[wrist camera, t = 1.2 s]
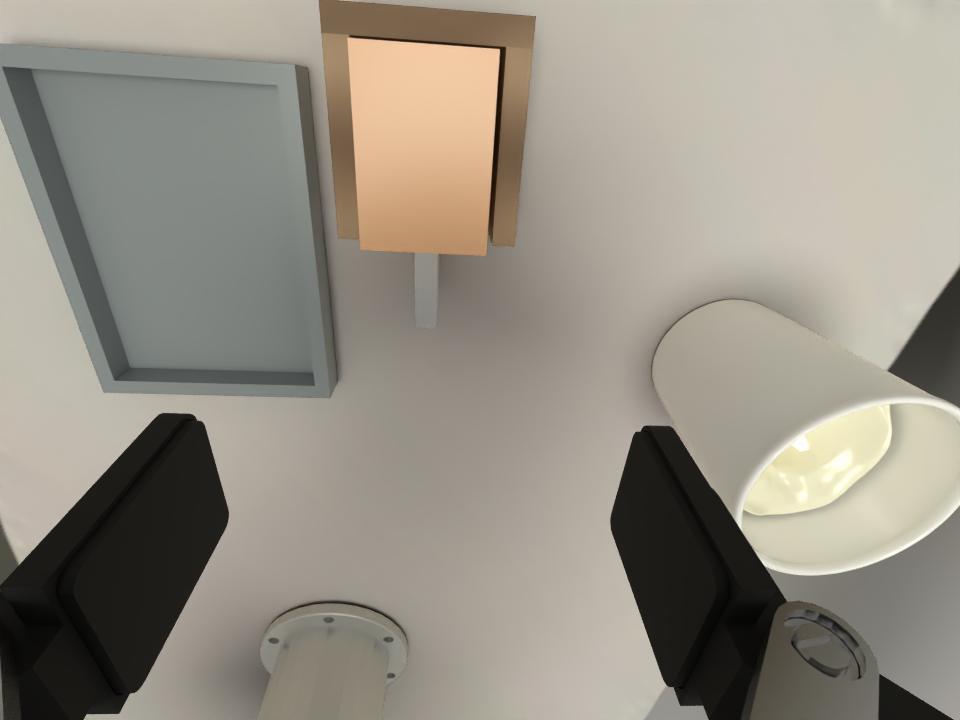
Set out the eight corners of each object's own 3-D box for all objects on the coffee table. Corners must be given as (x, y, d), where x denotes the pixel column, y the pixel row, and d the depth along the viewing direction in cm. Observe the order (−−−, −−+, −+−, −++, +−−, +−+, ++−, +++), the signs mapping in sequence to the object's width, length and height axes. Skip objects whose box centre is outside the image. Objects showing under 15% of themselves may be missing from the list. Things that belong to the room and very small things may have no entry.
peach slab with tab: (474, 289, 27) (480, 344, 21) (386, 286, 27) (365, 340, 21) (487, 64, 22) (500, 49, 16) (378, 56, 22) (347, 37, 15)
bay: (505, 224, 25) (514, 246, 21) (356, 216, 25) (338, 238, 21) (520, 32, 21) (535, 16, 17) (344, 18, 21) (318, -2, 17)
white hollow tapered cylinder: (718, 254, 27) (890, 352, 16) (827, 335, 30) (1033, 464, 19) (606, 381, 30) (687, 529, 20) (713, 443, 33) (832, 601, 23)
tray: (337, 380, 29) (330, 397, 28) (125, 374, 29) (103, 392, 27) (307, 67, 22) (294, 64, 20) (12, 46, 21) (-29, 41, 19)
